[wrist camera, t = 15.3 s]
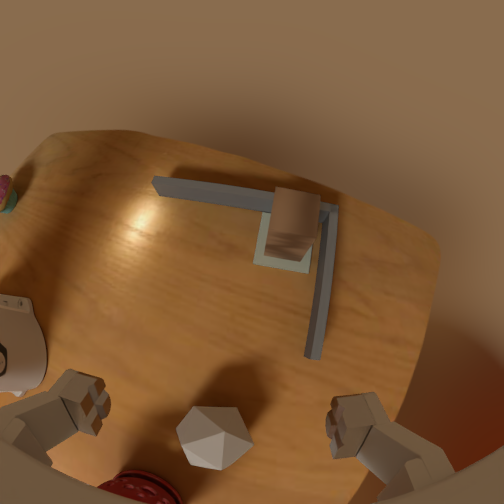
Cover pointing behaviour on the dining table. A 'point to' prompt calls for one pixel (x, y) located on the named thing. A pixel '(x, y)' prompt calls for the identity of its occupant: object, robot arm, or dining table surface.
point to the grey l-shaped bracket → (264, 203)
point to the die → (213, 436)
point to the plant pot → (142, 488)
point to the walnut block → (292, 224)
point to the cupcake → (7, 194)
